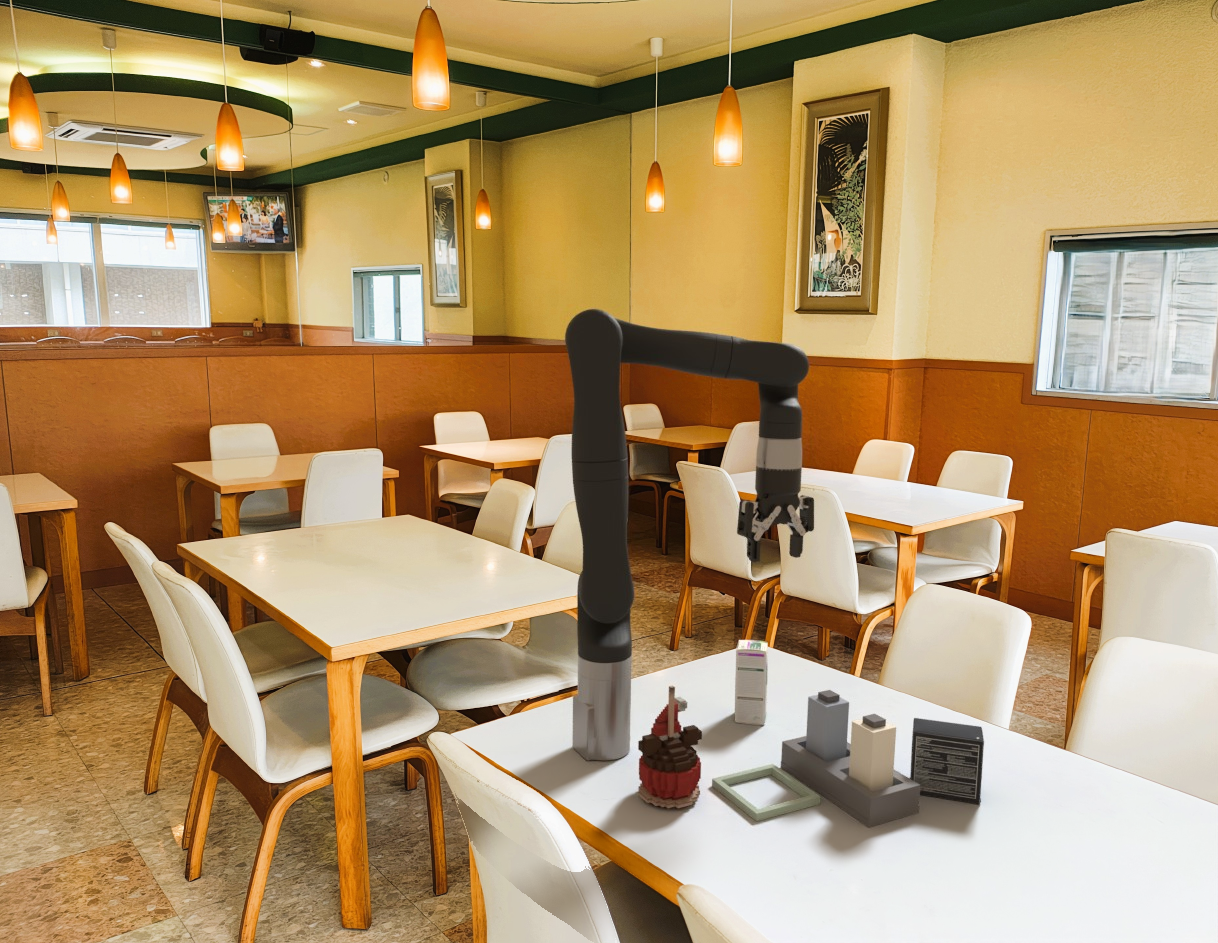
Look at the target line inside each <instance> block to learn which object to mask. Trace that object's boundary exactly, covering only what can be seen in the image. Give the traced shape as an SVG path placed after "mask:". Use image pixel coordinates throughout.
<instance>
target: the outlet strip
mask: <svg viewBox="0 0 1218 943" xmlns="http://www.w3.org/2000/svg"><path fill="white" fill-rule="evenodd" d="M850 747H851V742H850V743H849V742H848V741H847V751H846V757H844V758H840V759H836V760H832V761H828V762H826V761H824V760H822V759H821V758H819V757H818V756H816V755H815V754H813V753H811V752H810V751H808V750H807V749H806V735H804V736H801V737H796V738H795V737H794V738H792V739H787V740H783V741H782V742H781V759H780V760H781V761H780V769H782V770H783V771H786V773H788V774H789V775H791V776H792V777H793V778H794V777H795V779H796V780H797V779H798V781H799V782H801V783H802V784H804V785H806V786H807V787H809V789H811V790H812V791H815V793H818V795H820V796H822V797H824V798H825V799H827V800H828V801H829V802H831V803H833V804H834V805H835V806H837V807H838V808H840V809H841V810H843V811H844V812H846V813H847V814H848V815H850V816H851V817H852V818H854V819H856V820H857V821H859V822H860V823H862V824H863V825H864V826H866V827H867V828H871V827H875V826H878V825H882V824H886V823H888V822H892V821H896V820H898V819H902V818H905V817H909V816H911V815H915V814H918V813H919V812H920V797H921V795H920V784H918V783H916V782H915V781H913V780H911V779H910V778H909V777H908V776H907V775H904V774H902V773H901V772H900V771H898V770H896V769H894V771H893V786H891V787H888V788H884V789H881V790H877V791H871V790H870V789H868V788H867V787H865V786H864V785H862V784H860V783H859V782H857V781H856V780H854V779H852V778H851V777H849V765H850Z"/></svg>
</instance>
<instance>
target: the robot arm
mask: <svg viewBox="0 0 1218 943" xmlns="http://www.w3.org/2000/svg"><path fill="white" fill-rule="evenodd" d="M564 341H565V347H566V351H567V354H568V360H569V366H570V372H571V380H572V388H573V389H572V390H573V415H572V425H571V426H572V429H571V473H572V474H571V475H572V484H573V485H572V486H573V494H574V501H575V508H576V512H577V517H578V522H579V528H580V532H581V538H582V540H581V541H582V570H581V572H580V575H579V576H578V581H577V591H576V592H577V595H576V596H577V597H576V599H577V607H576V610H577V613H576V614H577V616H576V617H577V619H576V621H577V622H576V624H577V625H576V627H577V628H576V629H577V630H576V633H577V634H576V635H577V694H574V695H573V696H572V748H573V749H575V750H576V752H577V753H578V754H579V755H581V757H583V758H584V759H585V760H586V761H614V760H618V759H620V758H624V757H625V756H627V755H628V754H629V752H630V750H631V715H632V714H631V709H632V708H631V707H632V697H631V696H632V660H633V659H632V650H633V649H632V648H633V639H632V630H631V629H632V627H631V626H632V625H631V624H632V623H631V609H632V606H633V604H634V600H635V588H634V587H635V586H634V584H633V577H632V571H631V566H630V565H631V564H630V557H629V551H628V548H629V547H628V517H629V461H628V460H629V459H628V456H629V454H628V447H627V438H626V437H627V435H626V430H625V423H624V422H625V421H624V417H623V412H622V411H623V410H622V406H621V405H622V404H621V399H620V398H621V396H620V382H621V381H620V380H621V379H620V376H621V364H636V365H637V364H638V365H646V366H653V367H659V368H665V369H669V370H673V371H678V372H682V373H686V374H692V375H697V376H704V377H709V378H718V379H725V380H740V381H741V380H743V381H748V382H754V383H757V384H758V397H759V405H760V406H759V409H760V412H759V419H758V420H759V421H758V422H759V423H758V440H757V446H756V458H755V479H754V480H755V485H754V486H755V487H754V489H755V492H756V498H755V500H754V501H751V500H745V499H740V500H739V504H738V515H737V516H738V518H737V527H736V528H737V529H736V534H737V535H738V536H741V537H743V538H746V556H747V558H748V559H749V562H750V561H751V562H753V563H759V562H760V561H761V540H760V539H761V538H762V536H763V534H764V533H765V532H766V531H767V530H769V528H771V526H777V525H780V524H781V525H786V526H787V528H788V529H789V530H790V532H791V534H789V555H790V557H792V558H795V559H796V558H800V557H801V556H802V554H803V550H804V549H803V548H804V536H805V535H806V534H807V533H809V532H813V531H814V530H815V499H814V497H812V496H808V495H804V494H802V495H800V496H799V493H800V492H801V489H802V488H801V487H802V470H803V469H802V468H803V467H802V466H803V444H802V435H803V434H802V433H803V432H802V431H803V410H802V406H801V405H800V403H799V384H800V383H802V382H803V381H804V380H805V378H806V377H807V375H808V373H809V369H810V361H809V358H808V356H807V354H806V353H805V351H804V350H803V349H801V348H800V347H799V346H797V345H794V344H790V343H784V342H773V341H765V340H764V341H761V340H751V339H747V338H746V339H745V338H742V337H738V336H733V335H726V334H719V333H713V332H705V331H694V330H680V329H678V330H677V329H667V328H666V329H665V328H658V327H657V328H656V327H650V326H647V325H646V326H644V325H640V324H637V323H632V322H629V321H625V320H622V319H619V318H616V317H615V316H613V315H612V314H610V312H607V311H605V310H602V309H599V308H591V309H586V310H583V311H581V312H579V313H577V314H575V316H574V317H573V318H571V320H570V321H569V323H568V324H567V326H566V329H565V333H564ZM798 509H799V515H798V514H797V510H798ZM754 514H755V515H754Z"/></svg>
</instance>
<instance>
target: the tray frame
mask: <svg viewBox="0 0 1218 943" xmlns="http://www.w3.org/2000/svg"><path fill="white" fill-rule="evenodd" d="M766 776H773V777H774V778H776V779H777V780H779V781H780V782H782V783H783V784H784V785H785V786H787V787H788V788H790V789H791V790H793V791H794V792H795V793H797V794H798V795H800V796H801V797H799V798H796V799H795V798H794V799H792V800H788V801H784V802H781V803H777V804H774V805H770V806H766V807H761V808H757V807H756V806H755V805H754V804H752V803H751V802H749V800H747V799H746V798H744V797H743V795H741V794H740V793H738V792H737V791H735V789H733V788H732V787H731V785H735V784H739V783H743V782H747V781H751V780H754V779H755V780H756V779H759V778H763V777H766ZM711 781H712V782H711V786H712V787H713V788H714V789H715V790H716V791H718V792H719V793H720V794H722V795H723V796H724V797H725V798H726V799H727V800H729V801H731V802H732V803H733V804H734V805H735V806H737V807H738V808H739V810H740V809H741V811H743V812H744V813H745V814H746V815H748V816H749V817H750V818H752V819H753V820H754V821H755V822H760V821H763V820H766V819H770V818H775V817H777V816H781V815H784V814H785V815H786V814H788V813H792V812H795V811H796V812H797V811H800V810H803V809H806V808H810V807H814V806H817V805H820V804H821V795H820V794H817V792H816V791H815V792H814V790H813V789H811V788H810V787H809V788H808V786H807V785H806V786H805V784H804V783H803V782H801V781H800V780H797V778H794V776H792V775H791V774H789V773H788V772H787V771H786V772H785V770H784V769H782V768H781V767H778V766H777V765H775V764H774V763H770V764H768V765H762V766H758V767H755V768H751V769H747V770H742V771H738V772H733V773H729V774H726V775H722V776H718V777H712V779H711Z"/></svg>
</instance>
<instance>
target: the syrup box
mask: <svg viewBox="0 0 1218 943" xmlns="http://www.w3.org/2000/svg"><path fill="white" fill-rule="evenodd" d="M768 645H769V644H768V641H764V640H758V639H757V640H756V639H738V642H737V645H736V649H735V678H734V680H735V681H734V682H735V686H734V688H735V690H734V691H735V692H734V723H736V724H744V725H745V724H747V725H757V726H765V724H766V718H767V703H768V702H767V701H768V700H767V699H768V698H767V697H768V661H769V660H768V657H769V656H768V654H769V651H768V650H769V649H768V648H769V646H768Z"/></svg>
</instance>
